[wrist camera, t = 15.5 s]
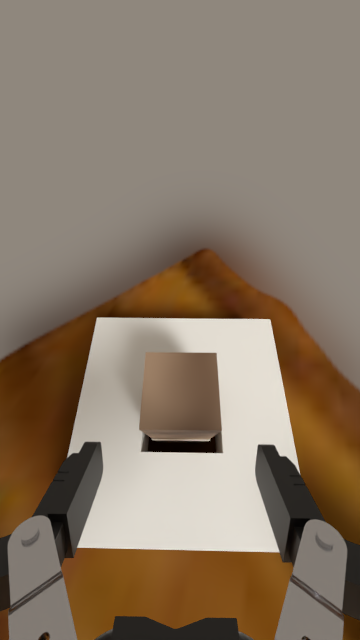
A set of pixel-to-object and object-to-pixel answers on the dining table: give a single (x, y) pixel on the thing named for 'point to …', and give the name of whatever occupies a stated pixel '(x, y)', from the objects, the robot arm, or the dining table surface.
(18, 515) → the dining table surface
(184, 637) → the robot arm
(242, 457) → the pocket stand
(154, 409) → the walnut leg
